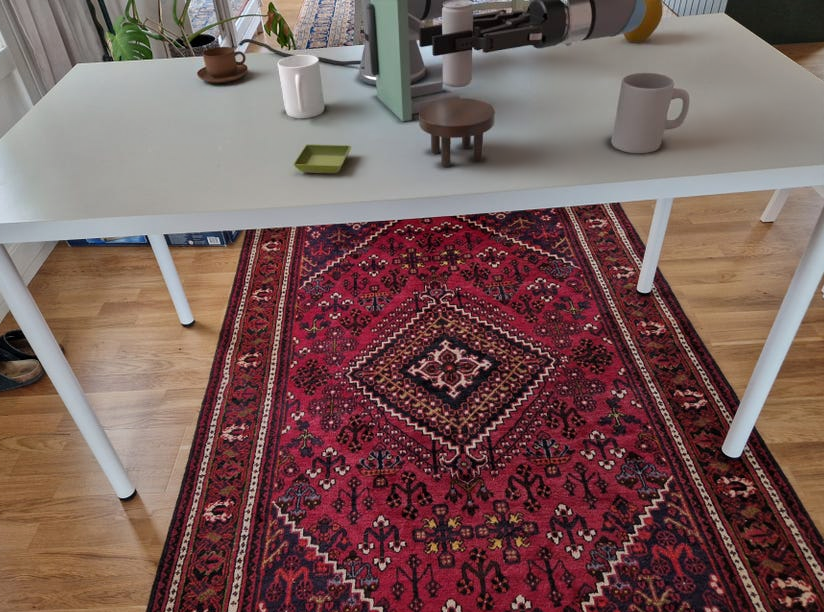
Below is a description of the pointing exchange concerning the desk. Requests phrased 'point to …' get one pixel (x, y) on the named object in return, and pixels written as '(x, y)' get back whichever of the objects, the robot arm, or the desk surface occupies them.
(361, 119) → the desk surface
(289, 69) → the cup
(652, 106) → the mug
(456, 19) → the beverage can
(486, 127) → the stool
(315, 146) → the green square dish
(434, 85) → the mint green upright panel
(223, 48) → the cup and saucer
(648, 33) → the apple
